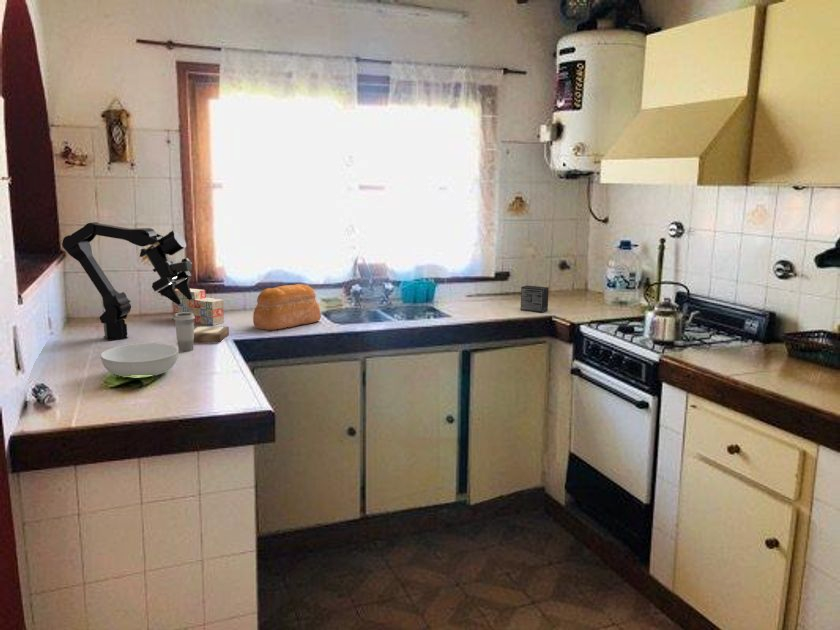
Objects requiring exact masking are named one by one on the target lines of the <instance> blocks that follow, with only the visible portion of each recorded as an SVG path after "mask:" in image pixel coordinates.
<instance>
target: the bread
mask: <svg viewBox="0 0 840 630" xmlns="http://www.w3.org/2000/svg"><path fill="white" fill-rule="evenodd" d="M315 292H316V291H315V290H314V289H313V288H312V287H311V286H309V285H306V284H302V283H297V284H287V285H280V286H275V287H267V288H265V289H263V290H262V291H261V292H260V293H259V294H258V296H257V298H256V303H257V304H256V307H255V309H254V311H253V313H252V314H253V315H252V320H253V322H252V323H253V325H254V328H257V329H259V328H260V330H264V329H265V330H266V331H277V329H278V330H282V329H286V328H287V327H288V328H293V327H297V326H300V325H301V326H302V325H308V324H309V325H310V324H312V323H317V322H319V321H320V320H321V318H322V314H321V308H320V305H319V303H318V302H317V300H316V293H315ZM265 330H264V331H265Z"/></svg>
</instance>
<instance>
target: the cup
mask: <svg viewBox="0 0 840 630" xmlns="http://www.w3.org/2000/svg"><path fill="white" fill-rule="evenodd" d="M194 318H195V316H194V315H193V313H190V312H182V313H176V314H175V317H174V326H175V333H176V341H177V348H178V350H179V351H178V352H191V350H192V351H193V350H194V343H193V339H194V327H195V323H194V322H193V319H194Z"/></svg>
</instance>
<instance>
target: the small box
mask: <svg viewBox="0 0 840 630" xmlns="http://www.w3.org/2000/svg"><path fill="white" fill-rule="evenodd" d="M520 289H521V290H520V311H523V312H530V311H531V313H532V312H533V313H541V314H542V313H545V312H548V310H549V287H548V286H547V287H546V286H538V285H537V286H536V285H527V284H526V285H524V286H521V288H520Z"/></svg>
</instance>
